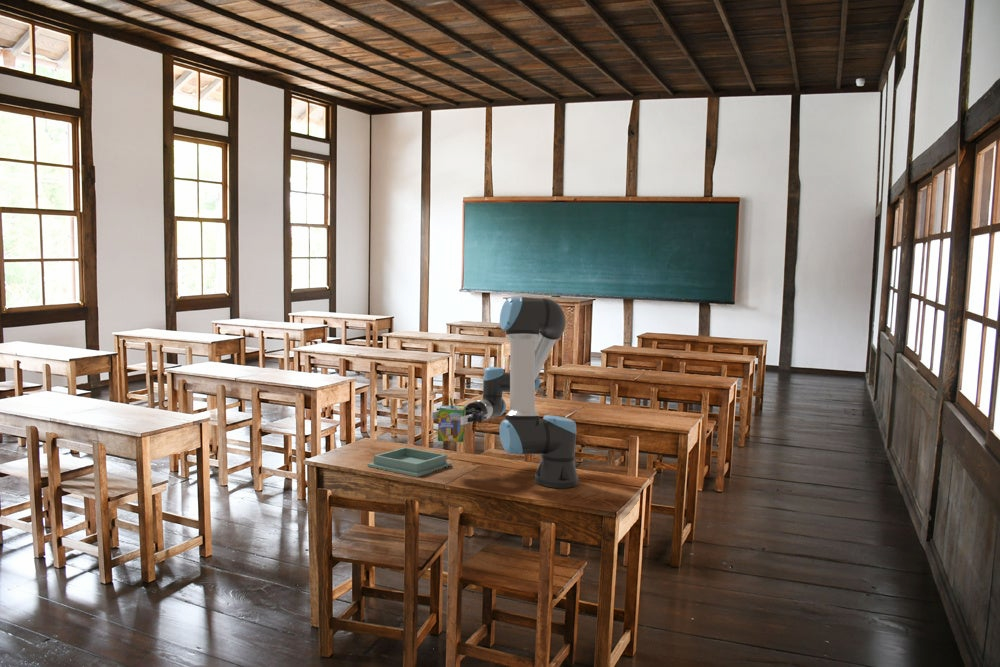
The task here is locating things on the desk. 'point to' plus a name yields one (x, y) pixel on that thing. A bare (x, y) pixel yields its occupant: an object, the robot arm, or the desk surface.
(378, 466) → the chalk holder
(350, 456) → the desk surface
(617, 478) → the desk surface
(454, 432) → the chalk box
